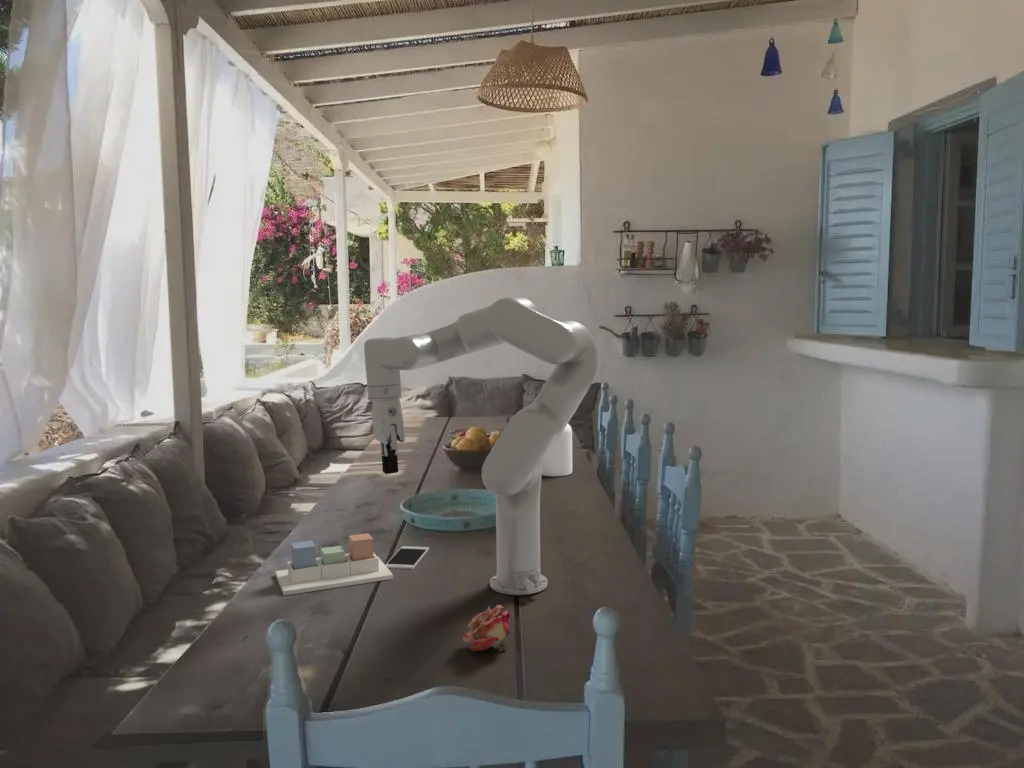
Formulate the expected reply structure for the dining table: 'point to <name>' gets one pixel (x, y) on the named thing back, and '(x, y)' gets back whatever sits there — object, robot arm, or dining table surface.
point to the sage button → (332, 555)
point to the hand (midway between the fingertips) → (390, 472)
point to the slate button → (303, 554)
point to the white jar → (559, 456)
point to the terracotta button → (361, 547)
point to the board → (332, 575)
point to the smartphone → (407, 557)
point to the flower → (488, 629)
